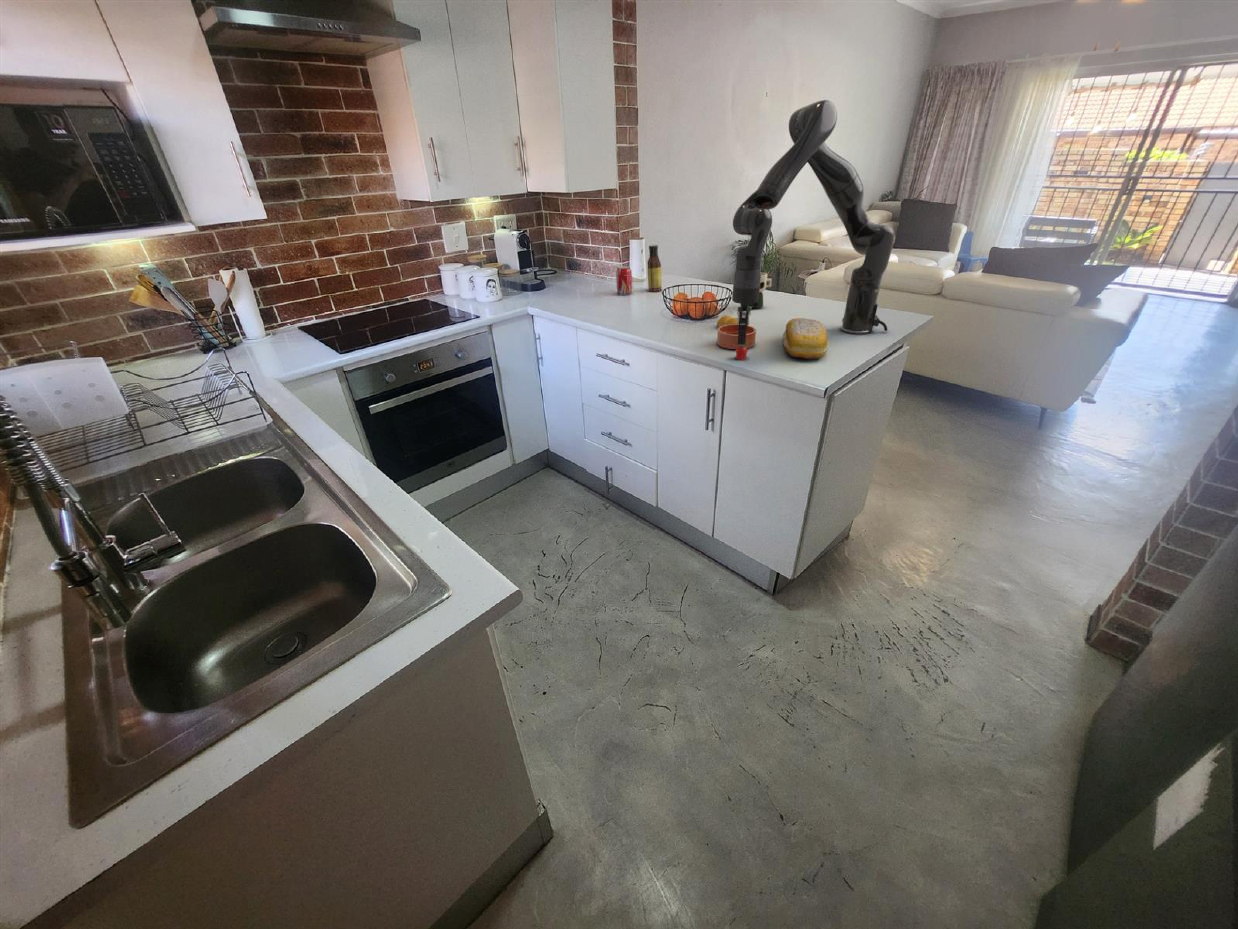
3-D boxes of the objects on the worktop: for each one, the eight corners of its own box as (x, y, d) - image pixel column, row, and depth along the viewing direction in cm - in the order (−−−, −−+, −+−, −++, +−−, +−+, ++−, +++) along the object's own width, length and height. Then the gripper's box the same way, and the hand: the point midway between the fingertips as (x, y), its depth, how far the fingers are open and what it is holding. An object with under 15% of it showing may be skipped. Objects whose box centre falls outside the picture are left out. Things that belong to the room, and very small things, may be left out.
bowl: (754, 339, 171) (756, 324, 168) (754, 351, 161) (755, 335, 158) (718, 338, 174) (719, 323, 171) (715, 349, 164) (716, 334, 161)
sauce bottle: (664, 289, 238) (664, 244, 228) (657, 292, 234) (657, 246, 224) (651, 288, 242) (651, 243, 231) (645, 291, 237) (644, 245, 227)
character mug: (741, 309, 203) (744, 276, 196) (741, 305, 209) (743, 272, 202) (769, 309, 201) (773, 275, 194) (768, 305, 207) (771, 272, 200)
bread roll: (732, 332, 178) (733, 321, 176) (713, 327, 184) (713, 316, 182) (747, 327, 183) (748, 316, 181) (727, 322, 189) (728, 311, 187)
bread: (784, 361, 152) (788, 335, 148) (778, 334, 174) (781, 311, 170) (832, 363, 149) (836, 336, 145) (819, 335, 171) (823, 311, 167)
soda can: (615, 293, 237) (613, 266, 231) (629, 291, 239) (628, 264, 232) (619, 296, 231) (618, 268, 225) (634, 294, 233) (633, 267, 227)
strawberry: (746, 356, 157) (747, 343, 155) (746, 360, 154) (747, 346, 152) (735, 356, 158) (736, 343, 156) (734, 359, 155) (735, 346, 153)
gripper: (760, 290, 138) (754, 347, 147) (760, 279, 150) (754, 333, 158) (732, 290, 140) (727, 346, 148) (734, 279, 151) (730, 332, 160)
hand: (741, 339), depth 153 cm, fingers open, 8 cm apart
